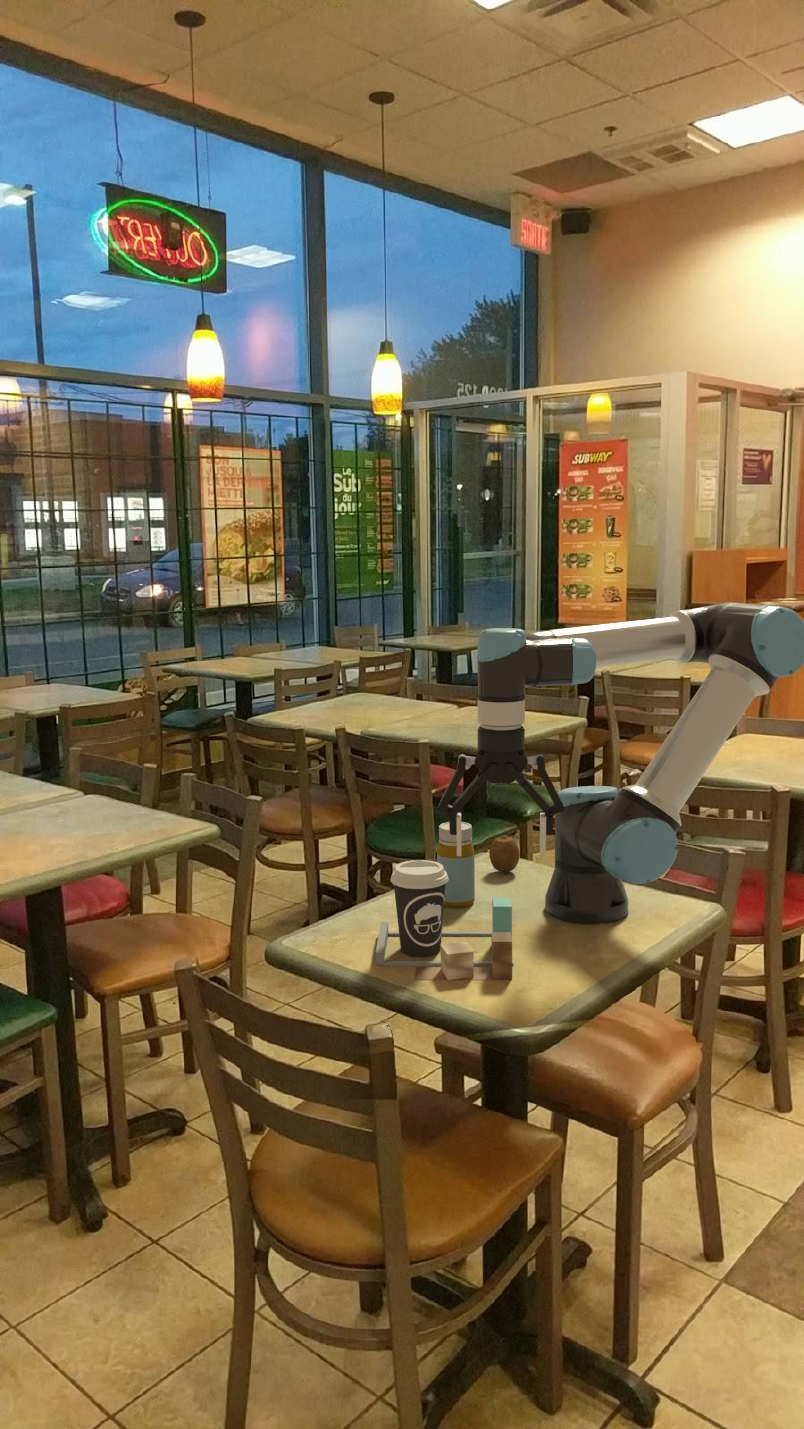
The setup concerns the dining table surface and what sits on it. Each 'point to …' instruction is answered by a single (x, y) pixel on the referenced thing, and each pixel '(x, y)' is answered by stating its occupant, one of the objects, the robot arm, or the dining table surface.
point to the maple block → (457, 960)
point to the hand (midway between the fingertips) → (500, 854)
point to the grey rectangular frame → (499, 924)
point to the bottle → (457, 866)
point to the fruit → (504, 854)
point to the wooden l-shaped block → (497, 972)
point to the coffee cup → (420, 906)
